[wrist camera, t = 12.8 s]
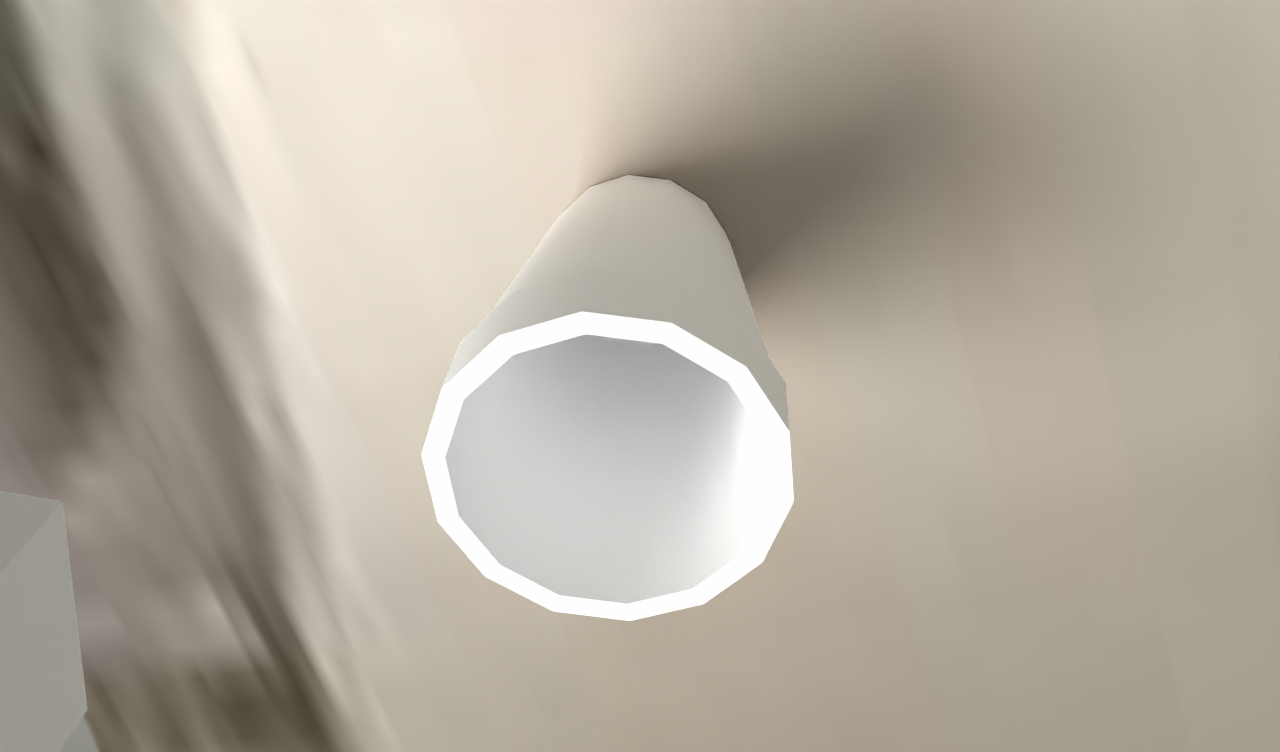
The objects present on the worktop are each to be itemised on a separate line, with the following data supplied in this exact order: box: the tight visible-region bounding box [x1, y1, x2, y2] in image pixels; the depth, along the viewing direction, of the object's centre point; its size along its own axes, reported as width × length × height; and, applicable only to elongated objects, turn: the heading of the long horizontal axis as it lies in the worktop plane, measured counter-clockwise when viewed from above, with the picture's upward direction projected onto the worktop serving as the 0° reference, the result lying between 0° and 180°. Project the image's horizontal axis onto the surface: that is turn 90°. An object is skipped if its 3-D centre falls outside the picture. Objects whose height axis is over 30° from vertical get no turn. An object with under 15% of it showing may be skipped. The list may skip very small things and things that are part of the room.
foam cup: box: [421, 175, 794, 621], centre depth 36 cm, size 10×9×13 cm
